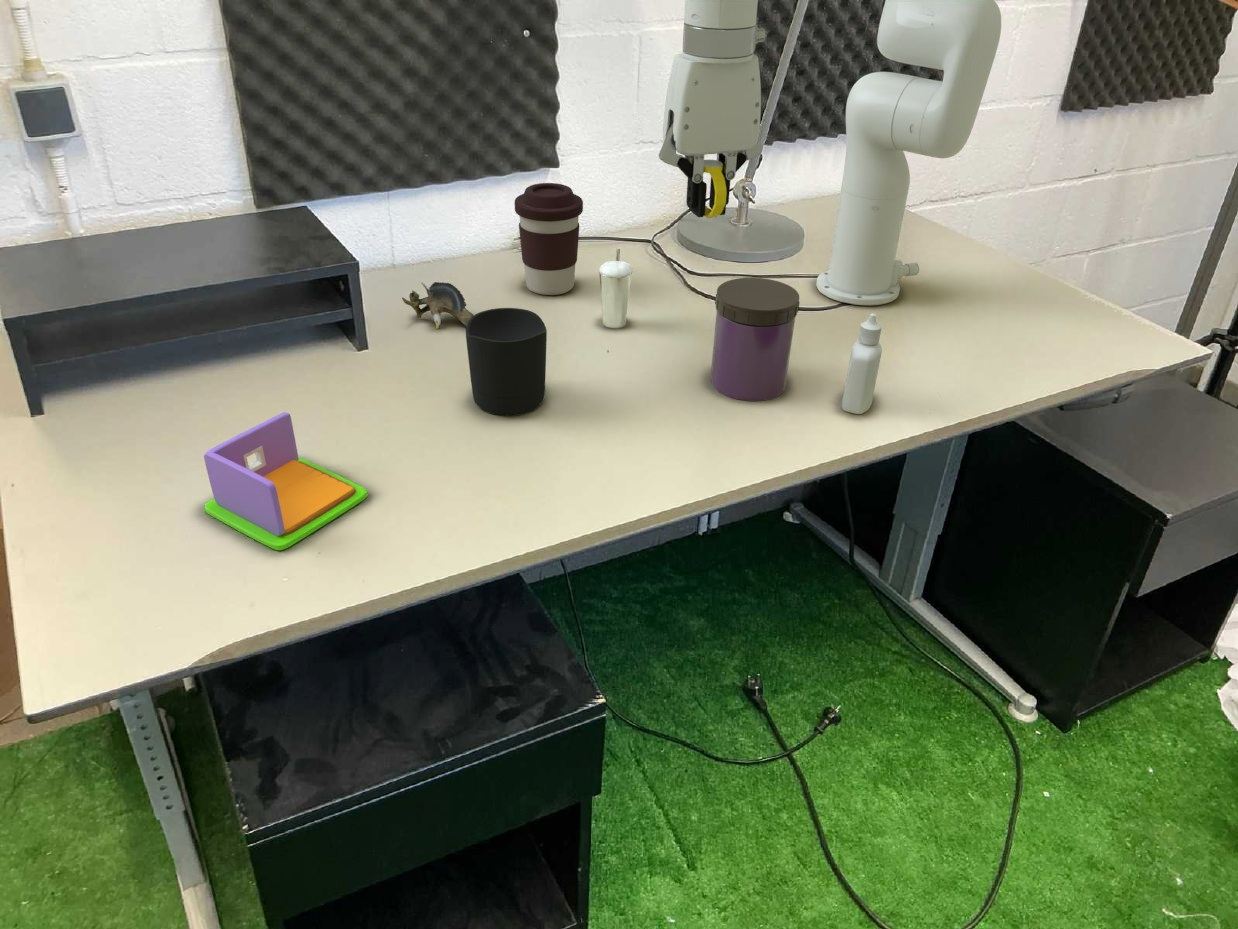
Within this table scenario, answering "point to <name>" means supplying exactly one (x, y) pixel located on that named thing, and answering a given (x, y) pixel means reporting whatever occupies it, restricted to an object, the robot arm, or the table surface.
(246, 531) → the dollhouse room
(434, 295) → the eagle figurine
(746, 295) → the jar lid
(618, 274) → the milkshake
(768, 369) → the jar
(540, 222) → the coffee cup
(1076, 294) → the table surface
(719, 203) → the watch
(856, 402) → the eye dropper bottle
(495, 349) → the pen holder
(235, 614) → the table surface
